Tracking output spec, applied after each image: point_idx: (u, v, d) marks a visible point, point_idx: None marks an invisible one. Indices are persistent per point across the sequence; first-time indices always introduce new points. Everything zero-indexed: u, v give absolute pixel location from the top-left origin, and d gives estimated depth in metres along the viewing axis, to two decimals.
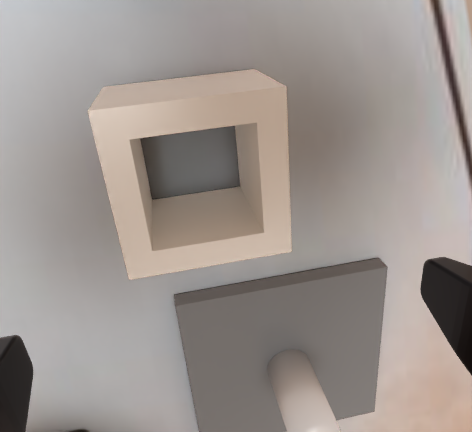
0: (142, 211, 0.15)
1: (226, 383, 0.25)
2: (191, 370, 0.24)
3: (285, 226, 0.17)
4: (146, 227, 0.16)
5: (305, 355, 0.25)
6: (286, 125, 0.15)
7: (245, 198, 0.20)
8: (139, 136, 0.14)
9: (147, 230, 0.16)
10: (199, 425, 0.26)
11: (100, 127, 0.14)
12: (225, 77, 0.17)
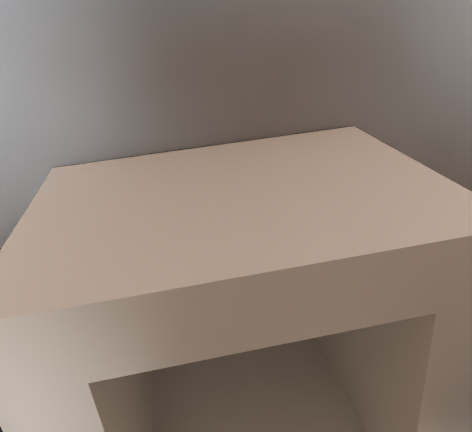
0: None
1: None
2: None
3: None
4: None
5: None
6: None
7: (328, 364, 0.10)
8: (117, 373, 0.05)
9: None
10: None
11: None
12: (311, 155, 0.08)
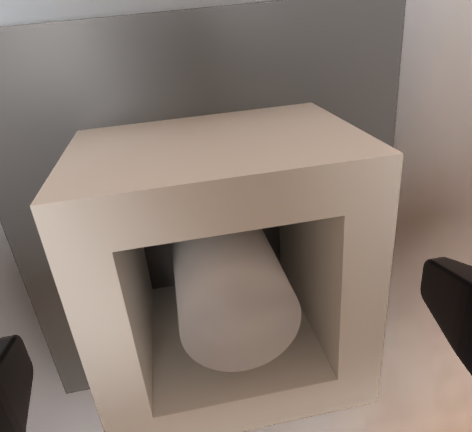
0: (136, 363, 0.09)
1: None
2: (6, 214, 0.12)
3: (372, 368, 0.10)
4: (143, 385, 0.09)
5: None
6: (393, 216, 0.08)
7: None
8: (131, 246, 0.08)
9: (144, 388, 0.09)
10: (49, 341, 0.14)
11: (56, 233, 0.07)
12: (273, 120, 0.11)
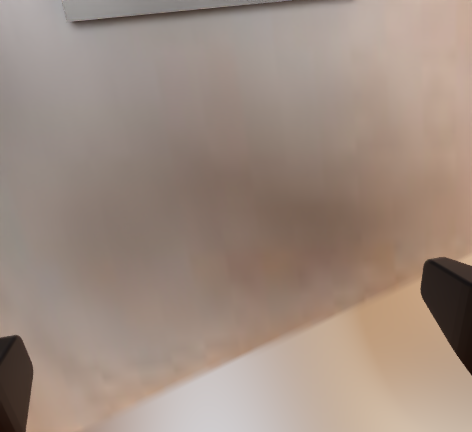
0: None
1: None
2: None
3: None
4: None
5: None
6: None
7: None
8: None
9: None
10: None
11: None
12: None
